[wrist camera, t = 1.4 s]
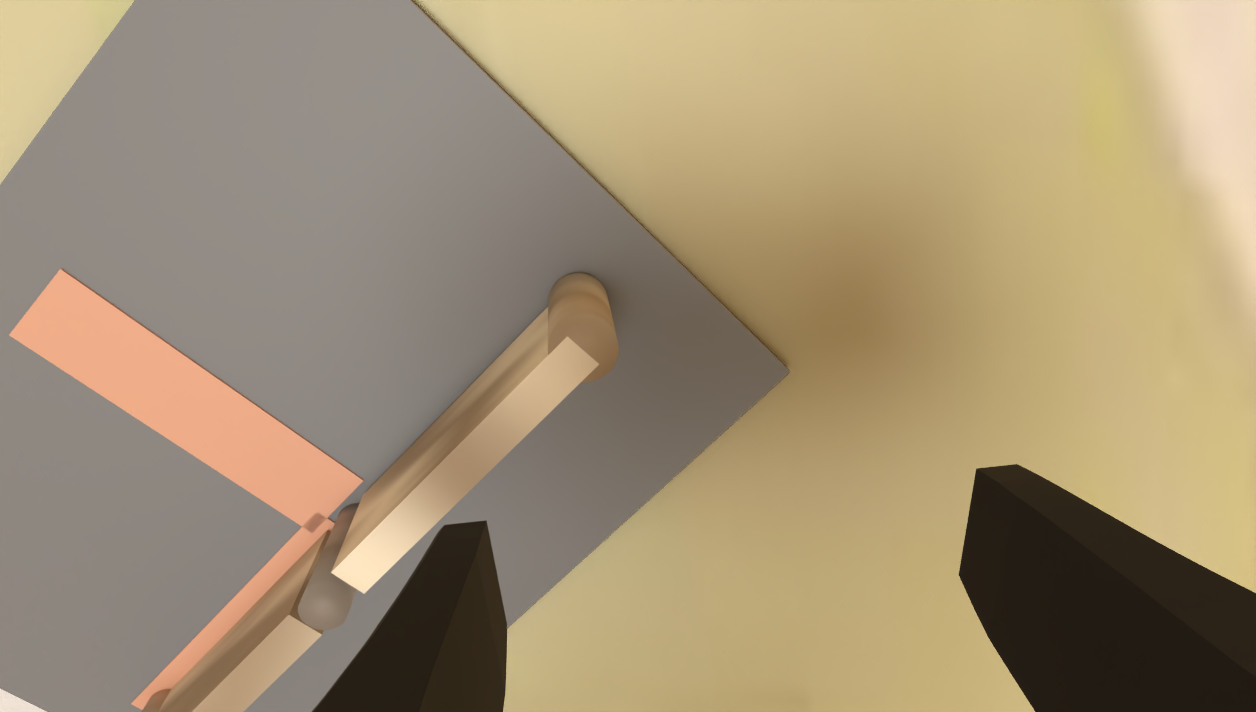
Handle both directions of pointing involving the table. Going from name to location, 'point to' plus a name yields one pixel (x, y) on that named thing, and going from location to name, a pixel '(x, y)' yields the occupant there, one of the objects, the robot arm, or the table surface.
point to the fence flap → (481, 427)
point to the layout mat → (303, 336)
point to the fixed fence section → (268, 633)
